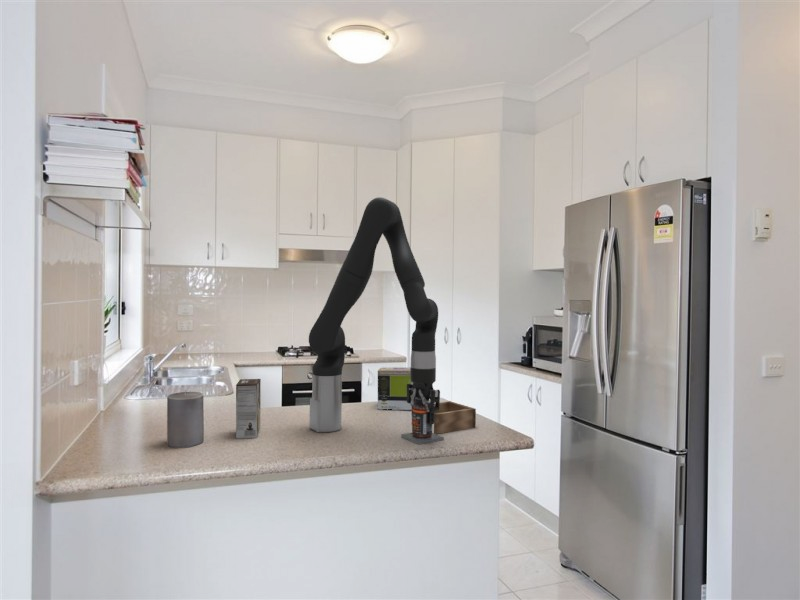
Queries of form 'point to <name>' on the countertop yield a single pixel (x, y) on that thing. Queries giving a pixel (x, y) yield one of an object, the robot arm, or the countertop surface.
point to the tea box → (393, 388)
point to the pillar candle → (185, 419)
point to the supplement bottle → (420, 420)
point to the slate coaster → (422, 440)
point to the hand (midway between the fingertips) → (422, 421)
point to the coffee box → (248, 408)
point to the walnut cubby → (453, 417)
